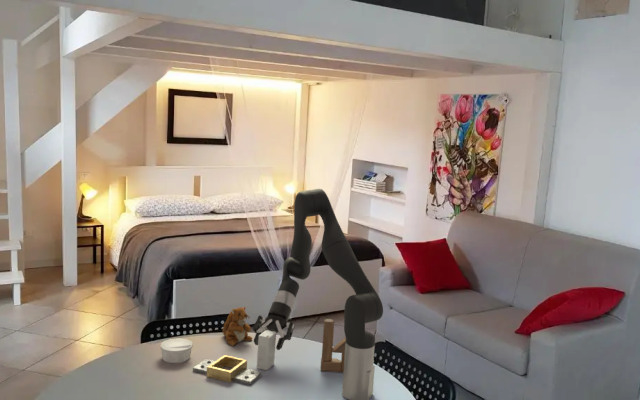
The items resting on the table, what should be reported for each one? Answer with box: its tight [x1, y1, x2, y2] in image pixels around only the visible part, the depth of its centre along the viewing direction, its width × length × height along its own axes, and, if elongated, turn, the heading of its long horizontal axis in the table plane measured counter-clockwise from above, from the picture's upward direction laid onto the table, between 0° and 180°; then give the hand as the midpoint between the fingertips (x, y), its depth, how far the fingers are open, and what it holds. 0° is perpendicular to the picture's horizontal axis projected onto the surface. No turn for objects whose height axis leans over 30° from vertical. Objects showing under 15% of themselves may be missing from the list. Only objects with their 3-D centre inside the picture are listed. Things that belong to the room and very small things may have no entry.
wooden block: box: [320, 318, 346, 374], centre depth 190 cm, size 4×11×18 cm, turn 89°
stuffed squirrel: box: [221, 306, 253, 347], centre depth 214 cm, size 10×14×13 cm
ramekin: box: [159, 337, 194, 364], centre depth 193 cm, size 11×11×5 cm
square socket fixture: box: [192, 354, 263, 386], centre depth 184 cm, size 22×11×4 cm, turn 69°
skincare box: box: [256, 330, 277, 371], centre depth 190 cm, size 6×4×12 cm
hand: (266, 346), depth 190 cm, fingers open, 8 cm apart
